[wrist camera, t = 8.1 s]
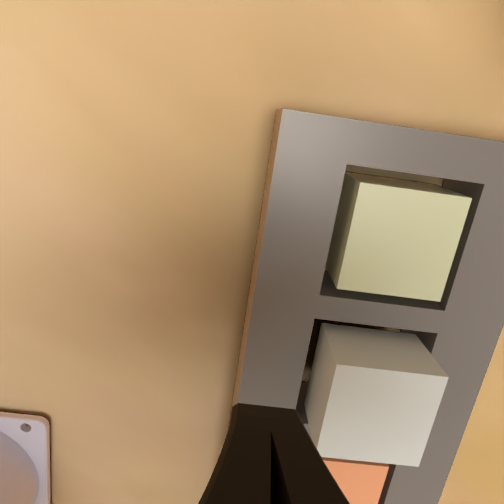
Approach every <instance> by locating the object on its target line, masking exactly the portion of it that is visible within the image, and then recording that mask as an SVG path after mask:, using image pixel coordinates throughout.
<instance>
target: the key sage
mask: <svg viewBox="0 0 504 504" xmlns="http://www.w3.org/2000/svg"><path fill="white" fill-rule="evenodd" d="M471 201H472V198H471V197H468V196H465V195H463V194H460V193H457V192H454V191H452V190H449V189H446V188H443V187H441V186H438V185H435V184H429V183H422V182H415V181H408V180H401V179H394V178H387V177H380V176H373V175H366V174H359V173H352V172H345V175H344V180H343V185H342V190H341V194H340V199H339V204H338V209H337V214H336V218H335V223H334V228H333V233H332V238H331V242H330V247H329V252H328V257H327V261H326V266H325V267H326V269H327V271H328V273H329V275H330V277H331V279H332V281H333V282H334V284H335V286H336V288H337V289H343V290H350V291H358V292H366V293H374V294H382V295H390V296H398V297H406V298H414V299H422V300H430V301H438V302H440V301H441V298H442V294H443V291H444V288H445V285H446V281H447V278H448V275H449V272H450V269H451V265H452V262H453V259H454V256H455V252H456V249H457V246H458V243H459V239H460V236H461V233H462V230H463V226H464V223H465V220H466V217H467V214H468V210H469V207H470V204H471Z"/></svg>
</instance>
